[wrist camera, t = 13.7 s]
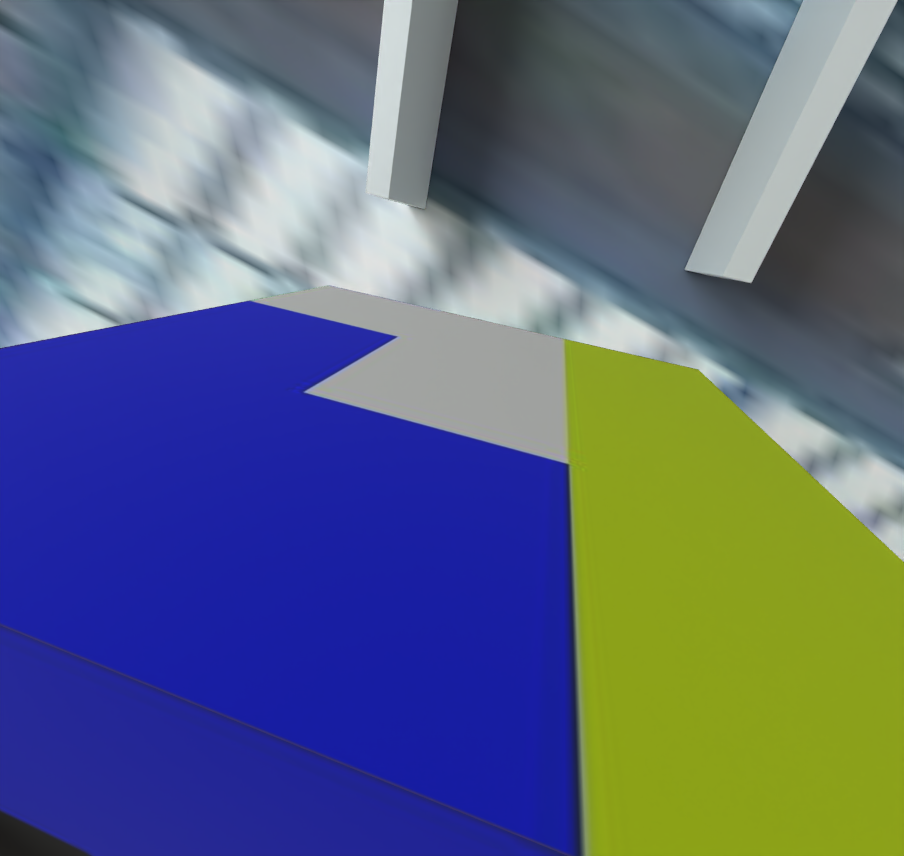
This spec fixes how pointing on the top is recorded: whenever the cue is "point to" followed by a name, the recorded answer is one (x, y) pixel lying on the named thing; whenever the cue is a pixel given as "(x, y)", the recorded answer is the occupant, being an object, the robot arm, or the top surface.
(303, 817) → the puzzle toy
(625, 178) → the top surface
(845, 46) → the grey open frame
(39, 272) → the top surface
